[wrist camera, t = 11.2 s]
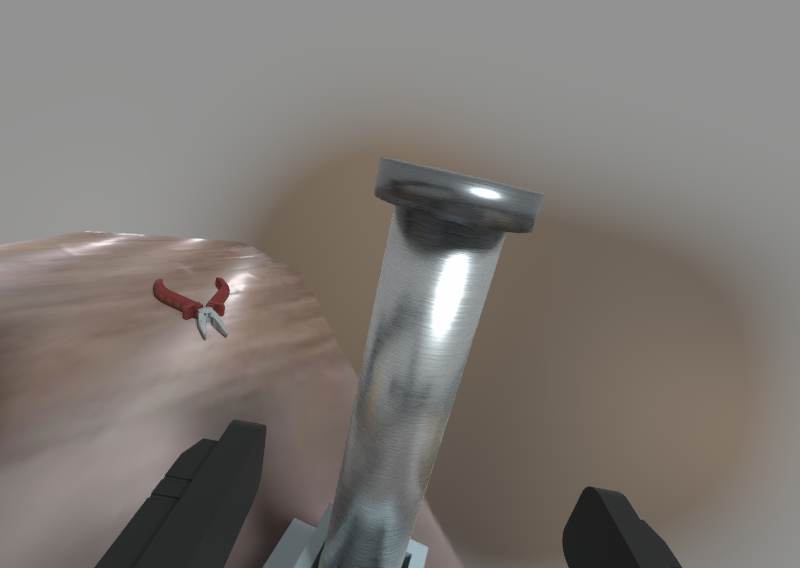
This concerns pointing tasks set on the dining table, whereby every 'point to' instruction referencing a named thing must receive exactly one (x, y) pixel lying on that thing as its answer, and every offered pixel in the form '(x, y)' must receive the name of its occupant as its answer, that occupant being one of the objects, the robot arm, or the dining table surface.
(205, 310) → the pliers
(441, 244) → the column
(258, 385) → the dining table surface
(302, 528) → the stand base
